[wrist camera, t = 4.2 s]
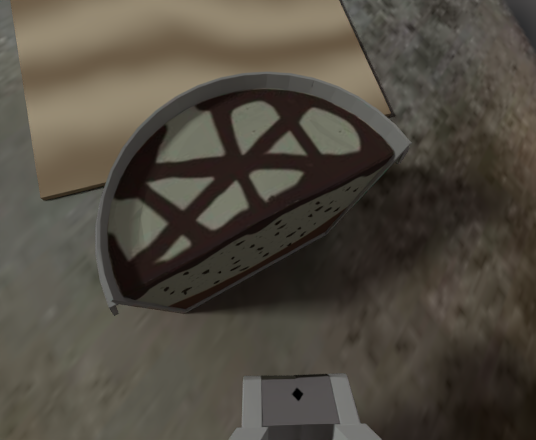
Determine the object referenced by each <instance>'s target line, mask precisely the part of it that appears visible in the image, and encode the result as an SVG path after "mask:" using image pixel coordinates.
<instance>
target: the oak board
mask: <svg viewBox="0 0 536 440" xmlns="http://www.w3.org/2000/svg"><path fill="white" fill-rule="evenodd" d="M10 1H11V7H12V14H13V20H14V27H15V33H16V40H17V46H18V53H19V59H20V66H21V73H22V79H23V86H24V92H25V99H26V105H27V112H28V118H29V125H30V131H31V138H32V144H33V151H34V157H35V164H36V171H37V177H38V184H39V190H40V197H41V199H43V200H48V199H53V198H57V197H61V196H65V195H69V194H73V193H77V192H81V191H85V190H90V189H94V188H98V187H102V186H105V184H106V181H107V178H108V175H109V172H110V170H111V168H112V166H113V164H114V162H115V160H116V159H117V157H118V155H119V153H120V151H121V149H122V148H123V146H124V145H125V144H126V142H127V141H128V140H129V138H130V137H131V136H132V135H133V133H134V132H135V131H136V129H137V128H138V127H139V126H140V125H141V124H142V123H143V122H144V121H145V120H146V119H147V118H148V117H149V116H151V115H152V114H153V113H154V112H155V111H156V110H157V109H159V108H160V107H161V106H163V105H164V104H166V103H167V102H169V101H170V100H171V99H173V98H174V97H176V96H178V95H180V94H181V93H183V92H185V91H187V90H189V89H191V88H193V87H195V86H197V85H200V84H203V83H206V82H209V81H212V80H215V79H218V78H221V77H226V76H231V75H236V74H241V73H252V72H280V73H292V74H297V75H302V76H307V77H312V78H316V79H319V80H322V81H325V82H328V83H331V84H333V85H336V86H339V87H341V88H343V89H345V90H347V91H349V92H351V93H353V94H355V95H357V96H359V97H360V98H362V99H363V100H365V101H366V102H368V103H369V104H371V105H372V106H374V107H375V108H377V109H378V110H379V111H380V112H382V113H383V114H384V115H385V116H386V117H389V116H390V114H391V112H390V110H389V107H388V105H387V103H386V101H385V99H384V97H383V94H382V92H381V90H380V88H379V86H378V84H377V81H376V79H375V77H374V75H373V73H372V71H371V68H370V66H369V64H368V62H367V60H366V58H365V55H364V53H363V51H362V49H361V47H360V45H359V42H358V40H357V38H356V36H355V34H354V32H353V29H352V27H351V25H350V23H349V21H348V19H347V16H346V14H345V12H344V10H343V8H342V6H341V3H340V1H339V0H10Z"/></svg>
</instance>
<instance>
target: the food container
mask: <svg viewBox="0 0 536 440" xmlns="http://www.w3.org/2000/svg"><path fill="white" fill-rule="evenodd" d="M410 144H411V142H410V141H409V140H408V138H407V137H406V136H405V135H404V134H403V133H402V131H401V130H400V129H399V128H398V127H397V126H396V125H395V124H394V123H393V122H392V121H391V120H389V119H388V118H387V117H386V116H385V115H384V114H383V113H382V112H380V111H379V110H378V109H377V108H375V107H374V106H372V105H371V104H369V103H368V102H366V101H365V100H363V99H362V98H360V97H359V96H357V95H355V94H353V93H351V92H349V91H347V90H345V89H343V88H341V87H339V86H336V85H333V84H331V83H328V82H325V81H322V80H319V79H316V78H312V77H307V76H302V75H297V74H292V73H280V72H252V73H241V74H236V75H231V76H226V77H221V78H218V79H215V80H212V81H209V82H206V83H203V84H200V85H197V86H195V87H193V88H191V89H189V90H187V91H185V92H183V93H181V94H180V95H178V96H176V97H174V98H173V99H171V100H170V101H169V102H167V103H166V104H164V105H163V106H161V107H160V108H159V109H157V110H156V111H155V112H154V113H153V114H152V115H151V116H149V117H148V118H147V119H146V120H145V121H144V122H143V123H142V124H141V125H140V126H139V127H138V128H137V129H136V131H135V132H134V133H133V135H132V136H131V137H130V138H129V140H128V141H127V142H126V144H125V145H124V146H123V148H122V149H121V151H120V153H119V155H118V157H117V159H116V160H115V162H114V164H113V166H112V168H111V170H110V172H109V175H108V178H107V181H106V184H105V187H104V190H103V192H102V196H101V199H100V203H99V209H98V215H97V220H96V228H95V254H96V260H97V266H98V272H99V278H100V283H101V286H102V289H103V291H104V294H105V297H106V300H107V303H108V306H109V308H110V310H111V312H112V313H113V315H114V316H115V315H117V314H119V313H118V310H117V307H116V305H118V304H121V305H128V306H135V307H142V308H148V309H155V310H162V311H169V312H176V313H183V314H185V313H186V312H188V311H190V310H192V309H194V308H195V307H197V306H199V305H201V304H203V303H204V302H206V301H208V300H210V299H212V298H213V297H215V296H217V295H219V294H221V293H222V292H224V291H226V290H228V289H230V288H231V287H233V286H235V285H237V284H238V283H240V282H242V281H244V280H246V279H247V278H249V277H251V276H253V275H255V274H256V273H258V272H260V271H262V270H264V269H265V268H267V267H269V266H271V265H273V264H274V263H276V262H278V261H280V260H282V259H283V258H285V257H287V256H289V255H290V254H292V253H294V252H296V251H298V250H299V249H301V248H303V247H305V246H307V245H308V244H310V243H312V242H314V241H316V240H317V239H319V238H321V237H323V236H325V235H326V234H328V233H329V232H330V231H331V230H332V229H333V227H334V226H335V225H336V224H337V223H338V222H339V221H340V220H341V219H342V218H343V217H344V216H345V215H346V214H347V212H348V211H349V210H350V209H351V208H352V207H353V206H354V205H355V204H356V203H357V202H358V201H359V200H360V199H361V197H362V196H363V195H364V194H365V193H366V192H367V191H368V190H369V189H370V188H371V187H372V186H373V185H374V184H375V182H376V181H377V180H378V179H379V178H380V177H381V176H382V175H383V174H384V173H385V172H386V171H387V170H388V169H389V167H390V166H391V165H392V164H393V163H394V162H396V163H397V164H399V163H401V161H402V160H403V158H404V157H405V155H406V154H407V152H408V150H409V145H410Z"/></svg>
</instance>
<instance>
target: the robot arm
mask: <svg viewBox="0 0 536 440" xmlns="http://www.w3.org/2000/svg"><path fill="white" fill-rule="evenodd" d="M229 440H382V439H381V438H380V437H379V436H378V435H377V434H376V433H375V432H374V431H373V430H372V429H371V428H370V427H369V426H368V425H367V424H361V423H360V419H359V416H358V412H357V409H356V405H355V401H354V398H353V394H352V391H351V387H350V384H349V380H348V376H347V375H346V374H345V373H344V374H310V375H294V376H244V378H243V401H242V428H236V430H235V431H234V432H233V434H232V435H231V437H230V438H229Z"/></svg>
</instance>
